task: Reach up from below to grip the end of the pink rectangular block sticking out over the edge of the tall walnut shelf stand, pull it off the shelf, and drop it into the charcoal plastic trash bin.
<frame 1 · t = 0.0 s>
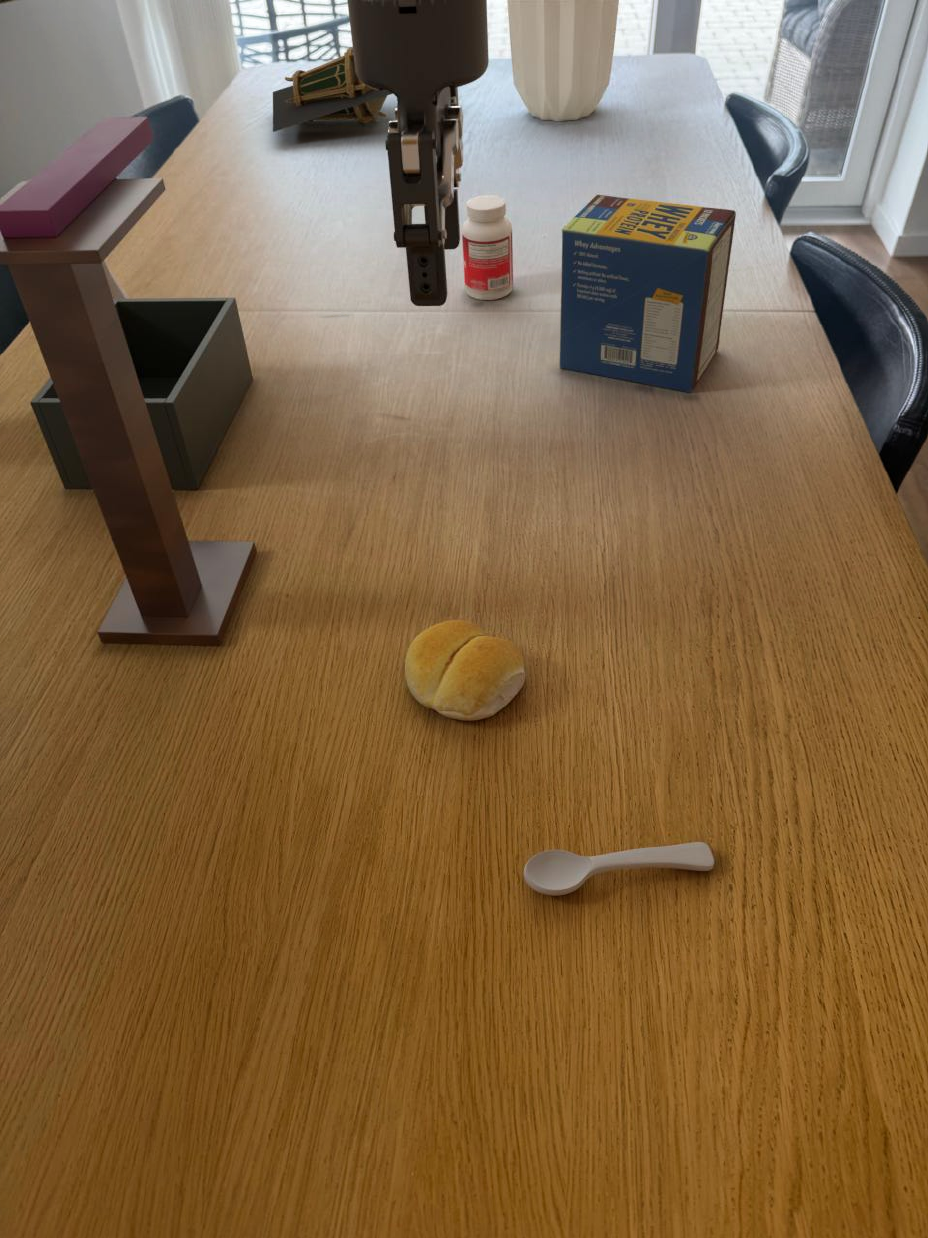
hand: (437, 274, 63), 27 cm above the table, tool pointing down, fingers open, 8 cm apart
vase: (561, 112, 177), on the table
protein box: (638, 361, 108), on the table
flask: (113, 323, 122), on the table
pill bottle: (489, 292, 123), on the table
spoon: (617, 874, 61), on the table
shelf stand: (182, 595, 82), on the table
bread roll: (465, 682, 73), on the table
lantern: (355, 121, 179), on the table
trash bin: (165, 429, 102), on the table
pink rectangular block: (85, 184, 64), point 32 cm above the table, touching shelf stand
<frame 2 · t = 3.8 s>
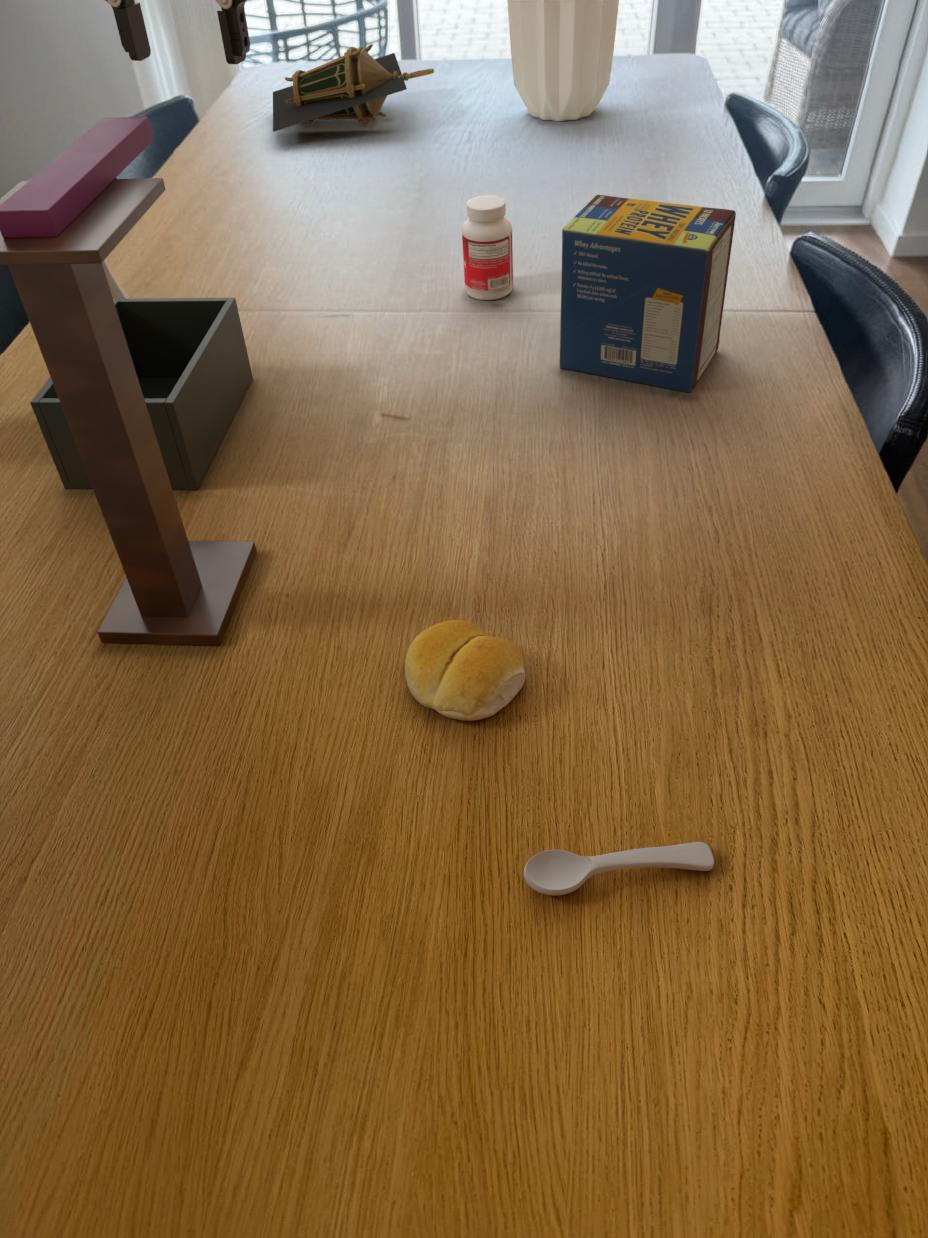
hand: (189, 60, 77), 34 cm above the table, tool pointing down, fingers open, 8 cm apart
nothing on the table moved.
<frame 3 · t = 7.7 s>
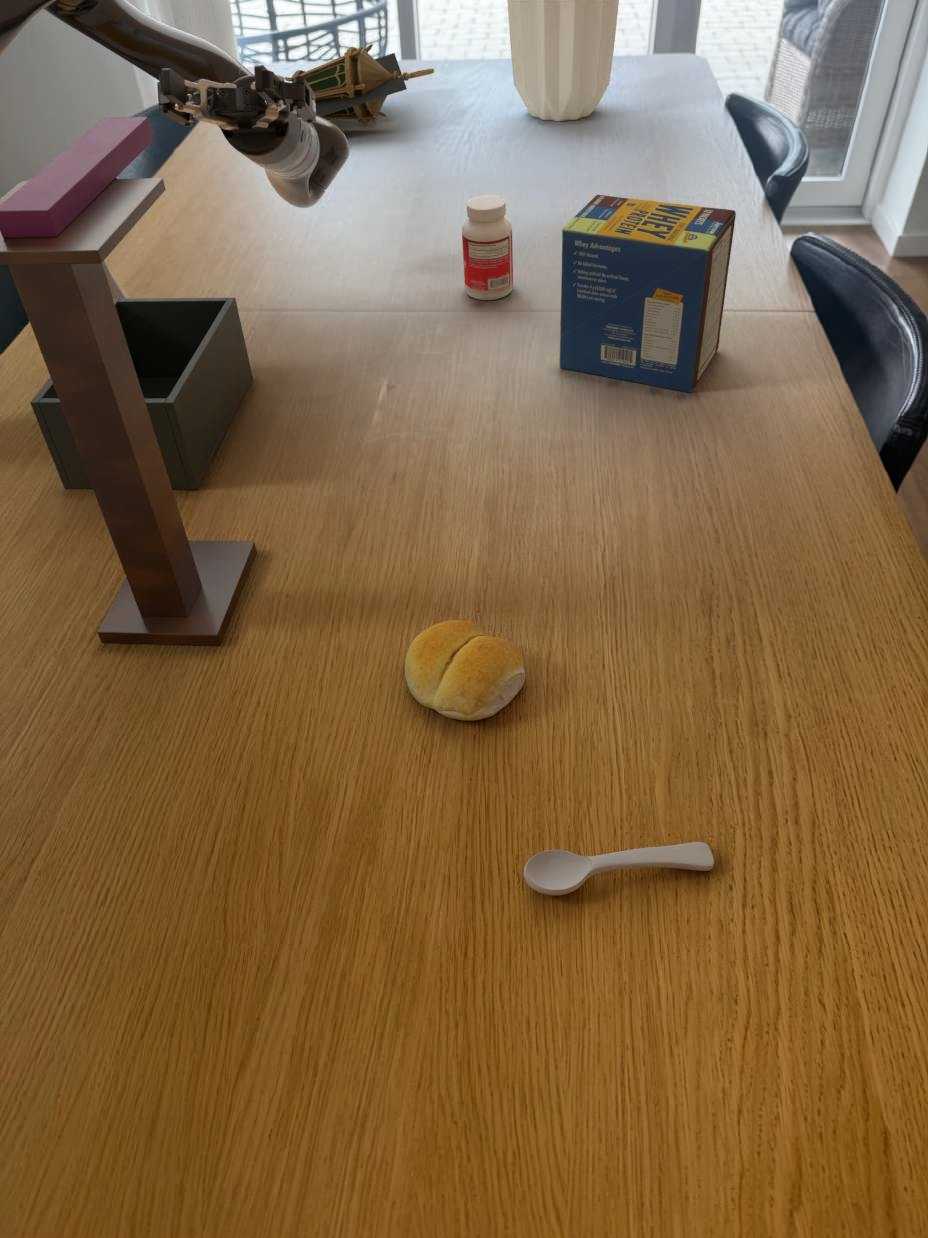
hand: (212, 78, 86), 31 cm above the table, tool pointing upward, fingers open, 8 cm apart
nothing on the table moved.
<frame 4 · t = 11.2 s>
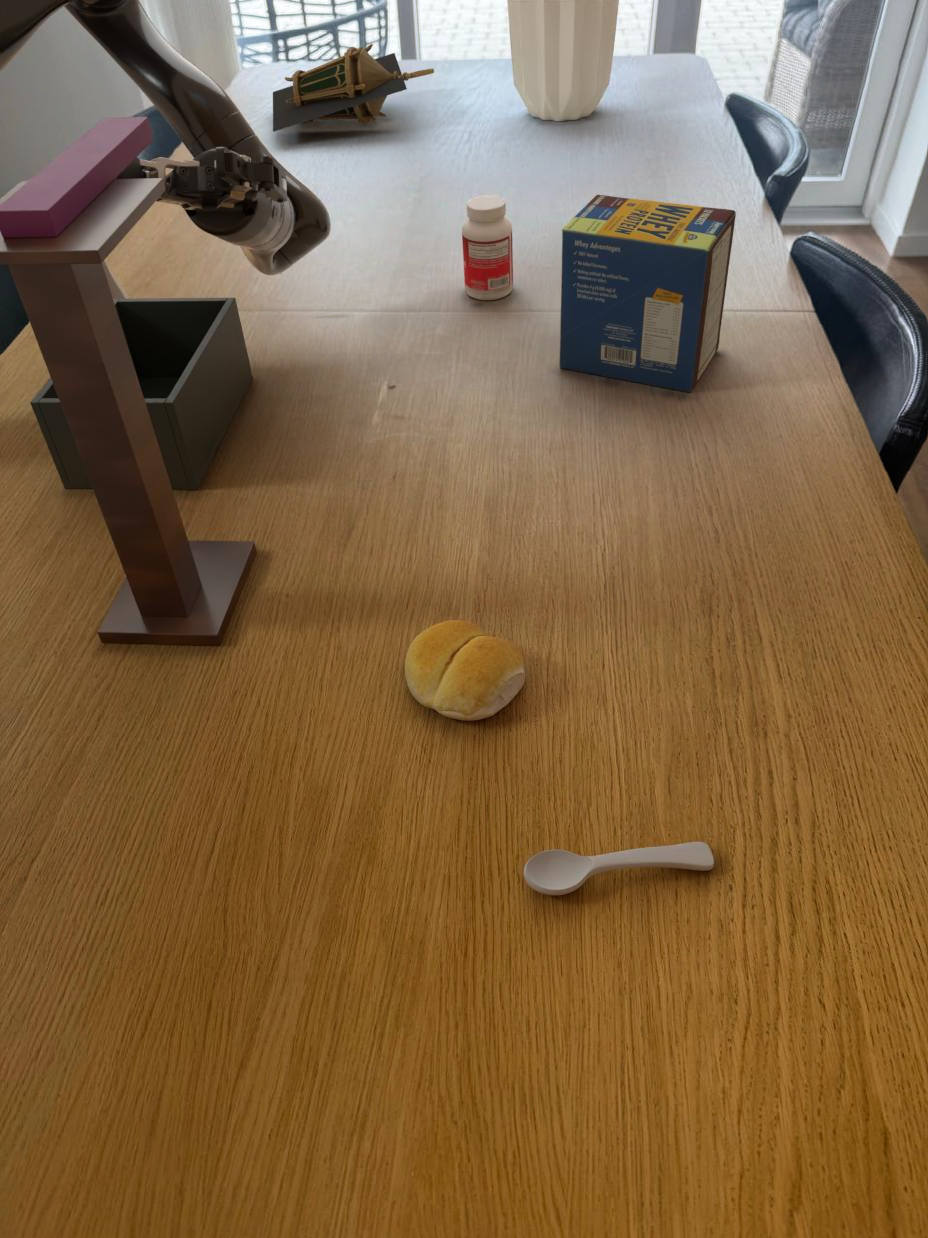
hand: (168, 161, 77), 29 cm above the table, tool pointing upward, fingers open, 8 cm apart
nothing on the table moved.
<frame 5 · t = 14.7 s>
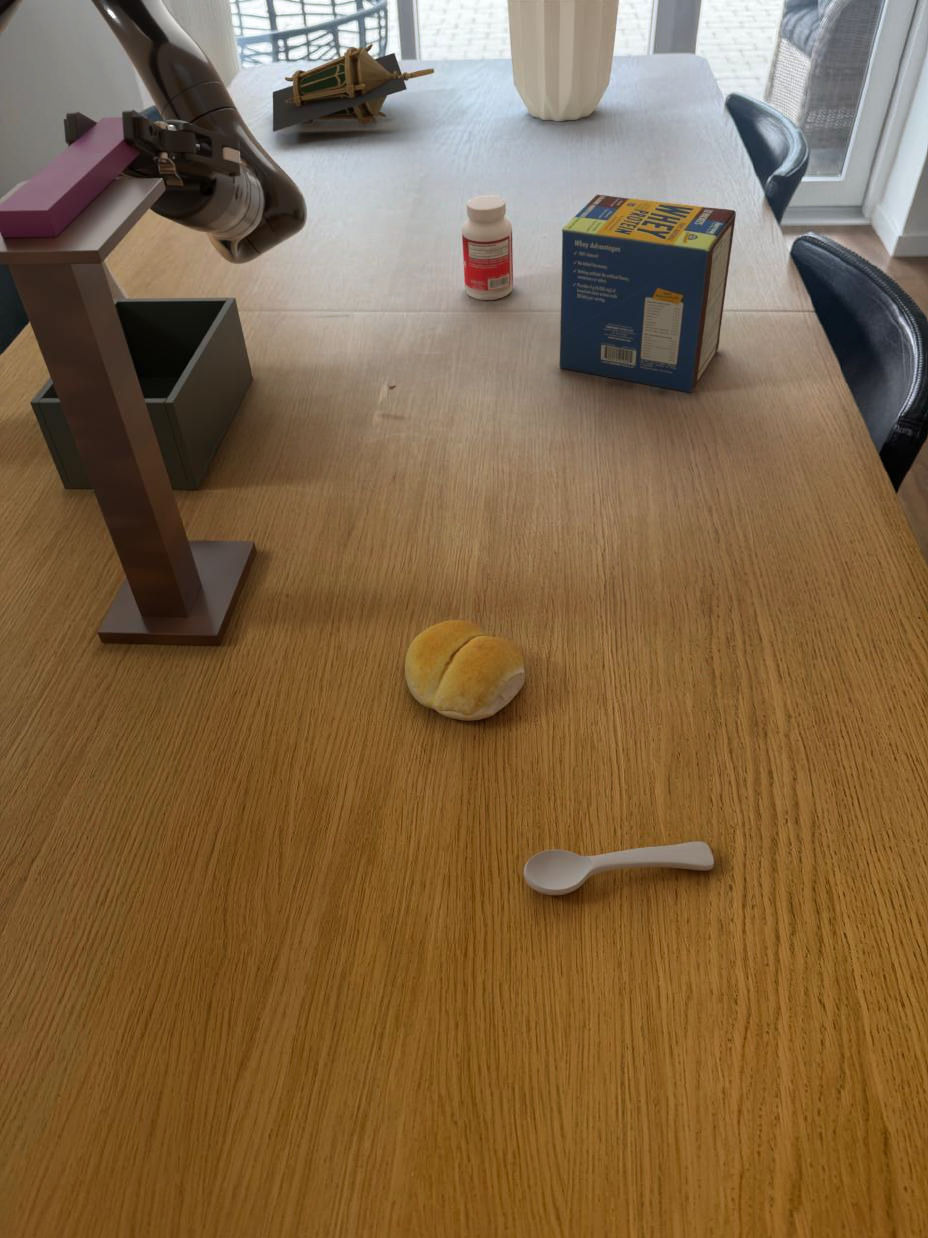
hand: (100, 126, 66), 34 cm above the table, tool pointing upward, fingers closed on pink rectangular block, 3 cm apart
pink rectangular block: (85, 184, 64), point 32 cm above the table, touching gripper, shelf stand
everything else where it was.
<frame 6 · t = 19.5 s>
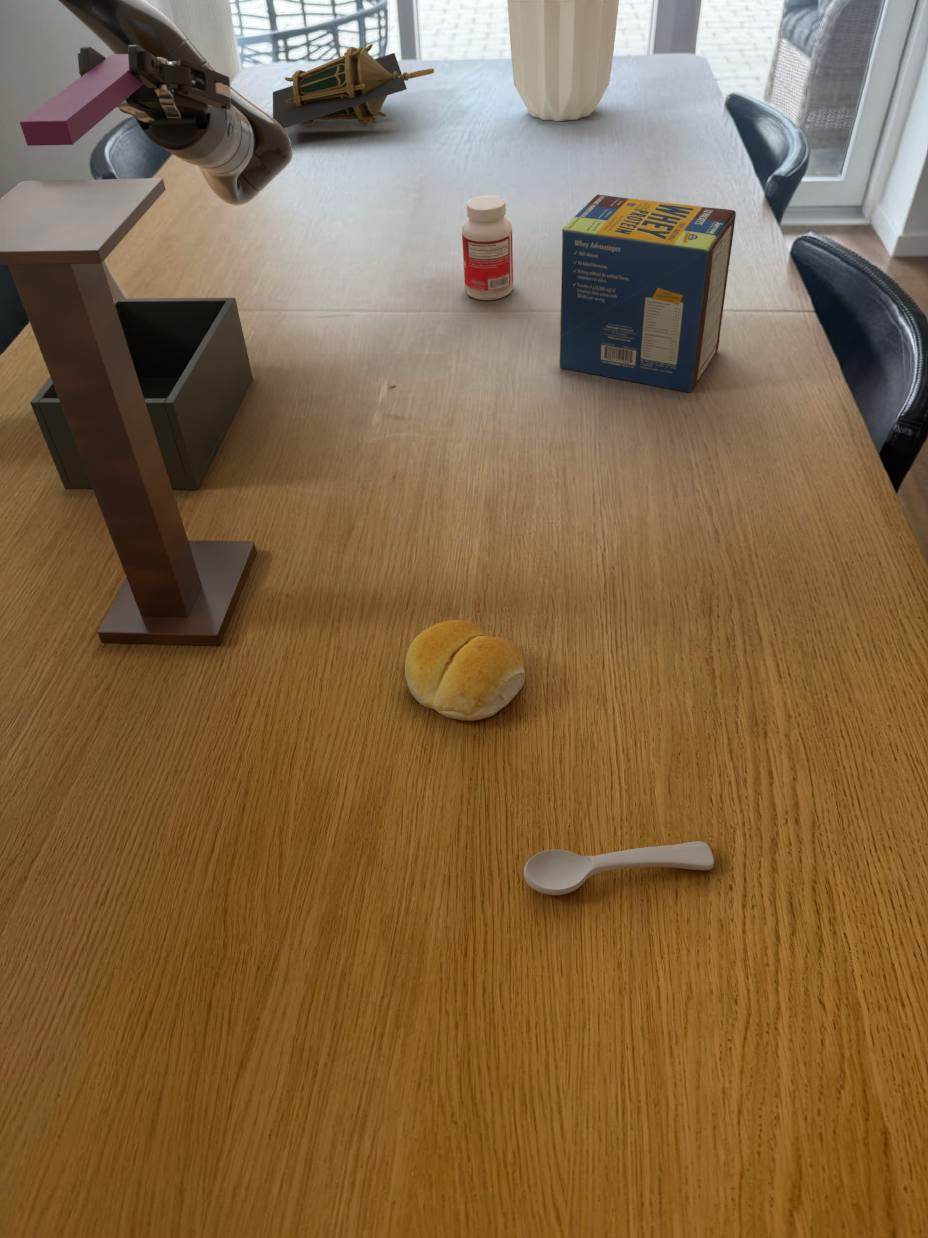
hand: (109, 59, 77), 35 cm above the table, tool pointing upward, fingers closed on pink rectangular block, 3 cm apart
pink rectangular block: (96, 106, 75), point 33 cm above the table, touching gripper
everything else where it was.
when the fingers open (21 cm above the table, at t = 24.4 s): pink rectangular block drops 19 cm, resting on trash bin.
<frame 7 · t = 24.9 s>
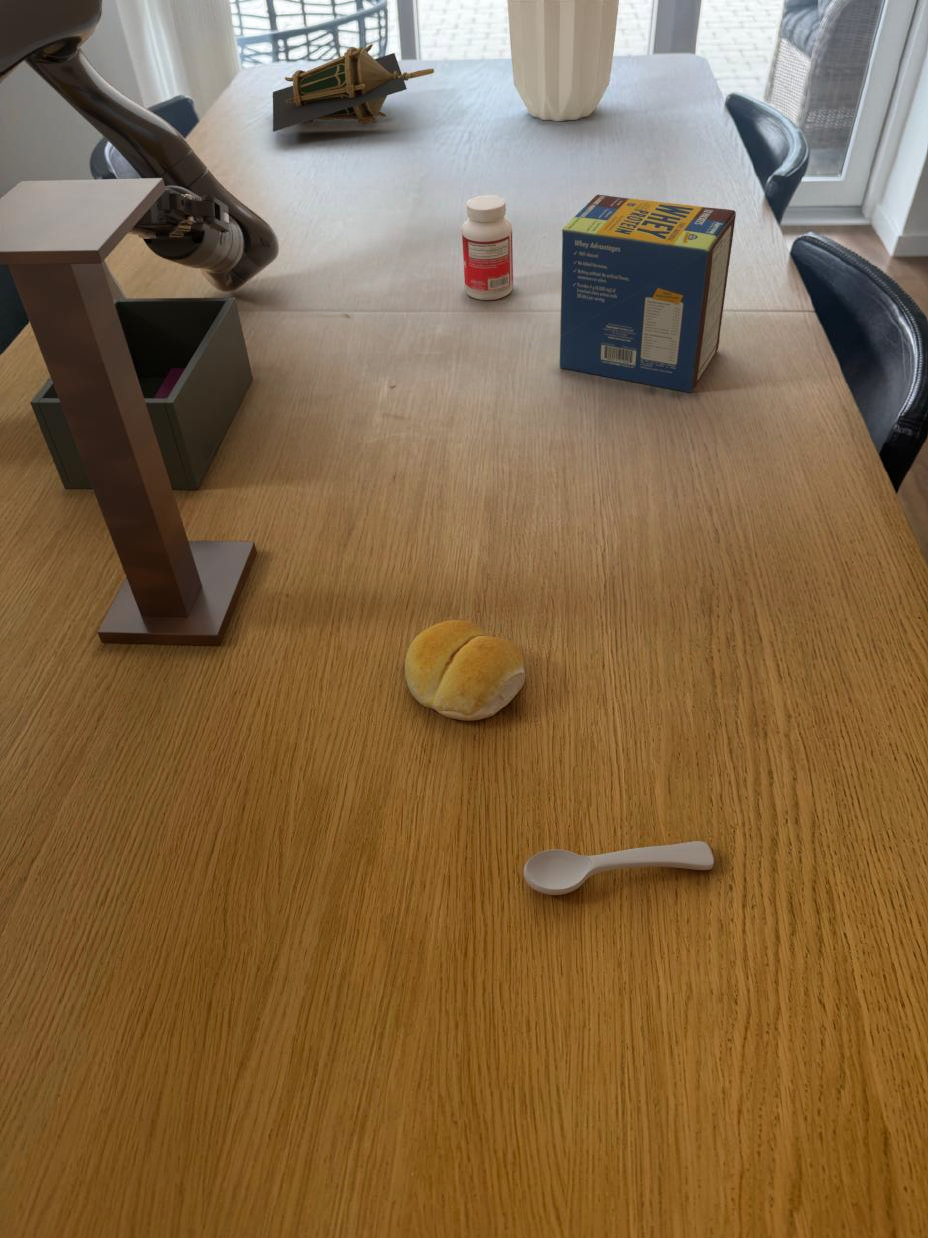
hand: (122, 200, 91), 22 cm above the table, tool pointing upward, fingers open, 8 cm apart
pink rectangular block: (166, 423, 102), point 1 cm above the table, touching trash bin
everything else where it was.
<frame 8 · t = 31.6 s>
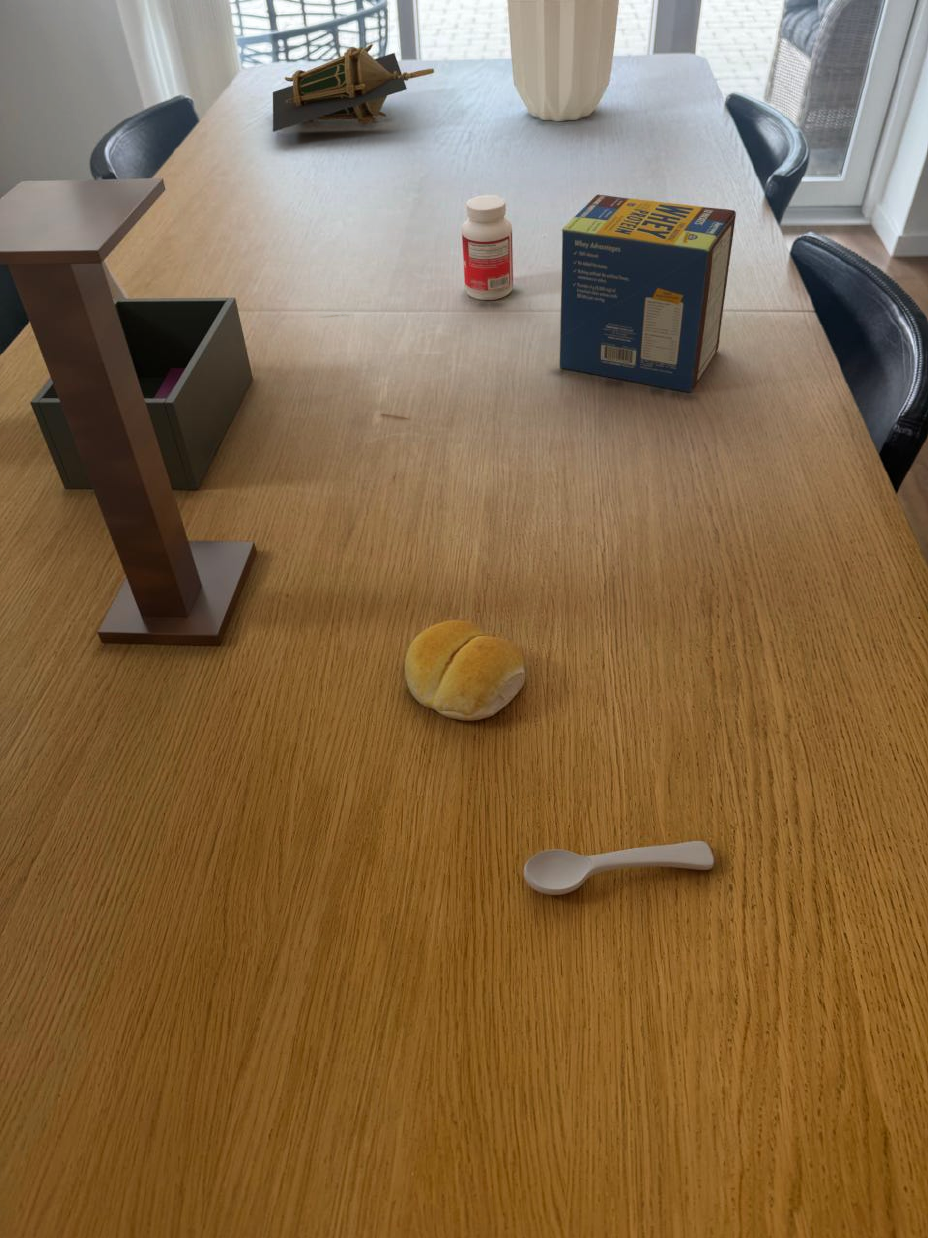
nothing on the table moved.
at the end: pink rectangular block inside the target area in the trash bin (0.4 cm from its centre), point 0.6 cm above the trash bin's base; the gripper is holding nothing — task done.
